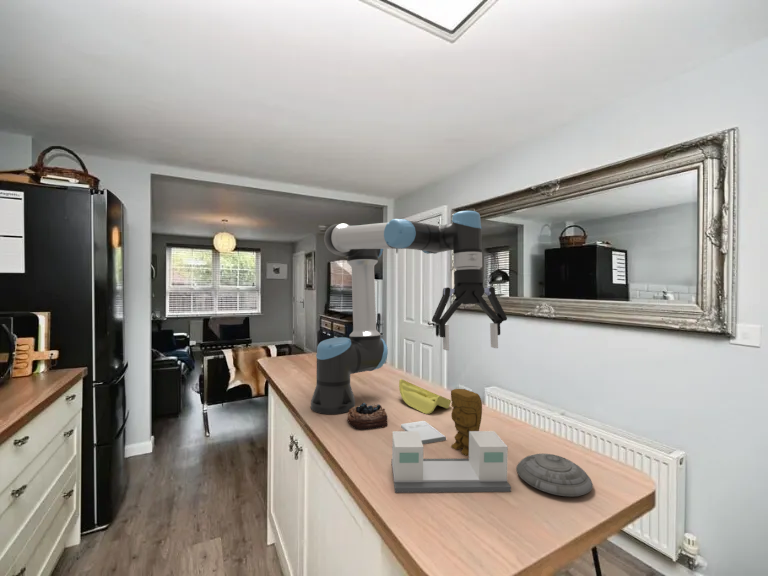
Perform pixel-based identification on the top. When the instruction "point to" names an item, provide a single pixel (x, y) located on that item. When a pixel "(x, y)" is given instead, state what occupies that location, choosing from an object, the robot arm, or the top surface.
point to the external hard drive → (424, 431)
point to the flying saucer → (554, 475)
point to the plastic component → (421, 397)
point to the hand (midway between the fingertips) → (470, 348)
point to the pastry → (367, 417)
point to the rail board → (450, 465)
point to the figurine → (465, 416)
